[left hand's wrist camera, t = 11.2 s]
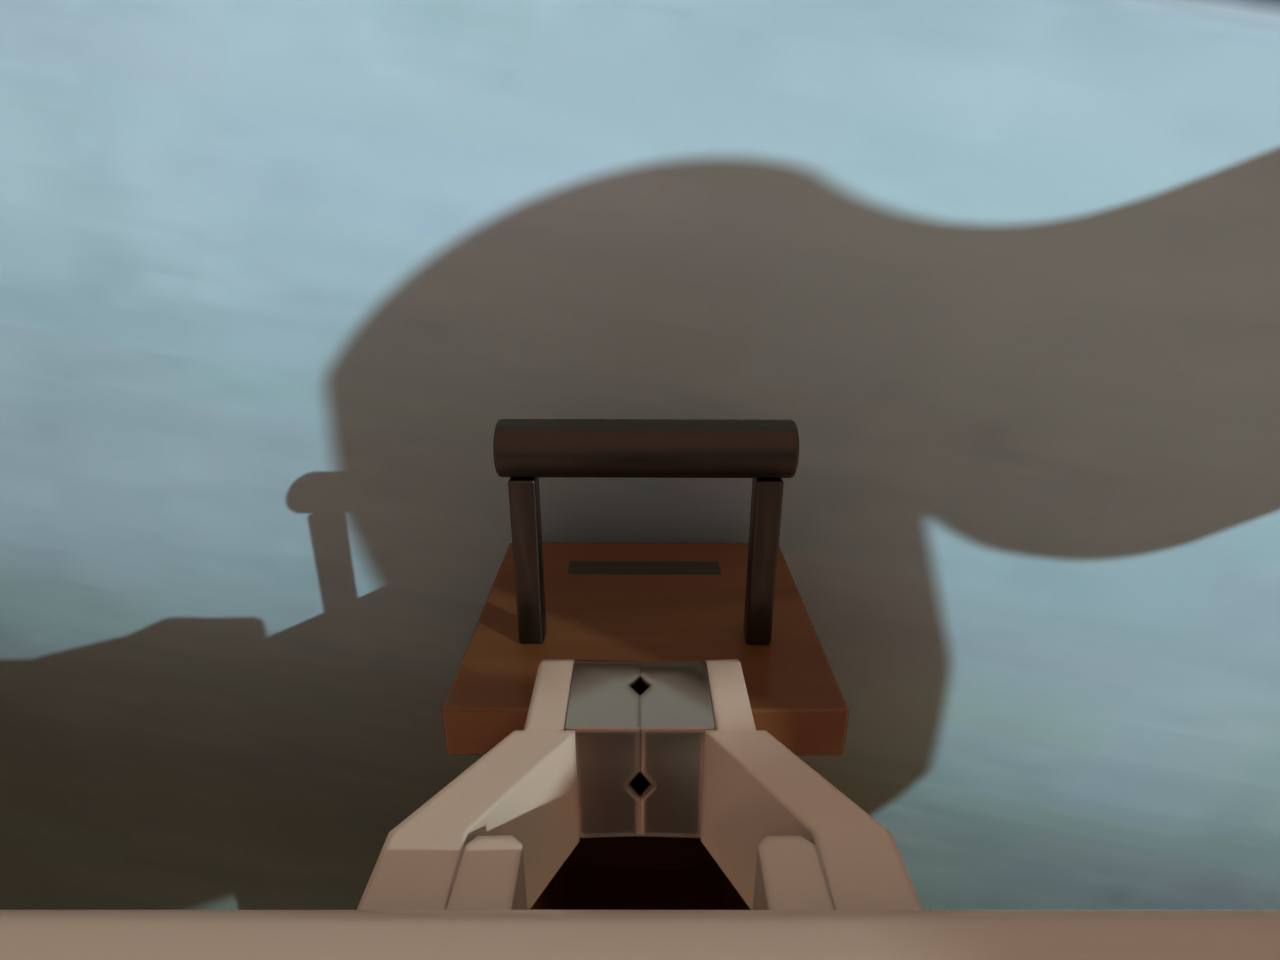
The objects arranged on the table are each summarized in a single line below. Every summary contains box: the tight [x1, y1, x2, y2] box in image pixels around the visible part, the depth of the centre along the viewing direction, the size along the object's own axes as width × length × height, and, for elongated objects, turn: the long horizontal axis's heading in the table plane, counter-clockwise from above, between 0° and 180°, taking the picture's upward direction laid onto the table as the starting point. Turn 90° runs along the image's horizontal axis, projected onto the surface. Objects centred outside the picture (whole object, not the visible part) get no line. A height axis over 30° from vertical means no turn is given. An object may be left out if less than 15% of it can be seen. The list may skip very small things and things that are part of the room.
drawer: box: [442, 419, 849, 910], centre depth 19 cm, size 19×8×8 cm, turn 0°
